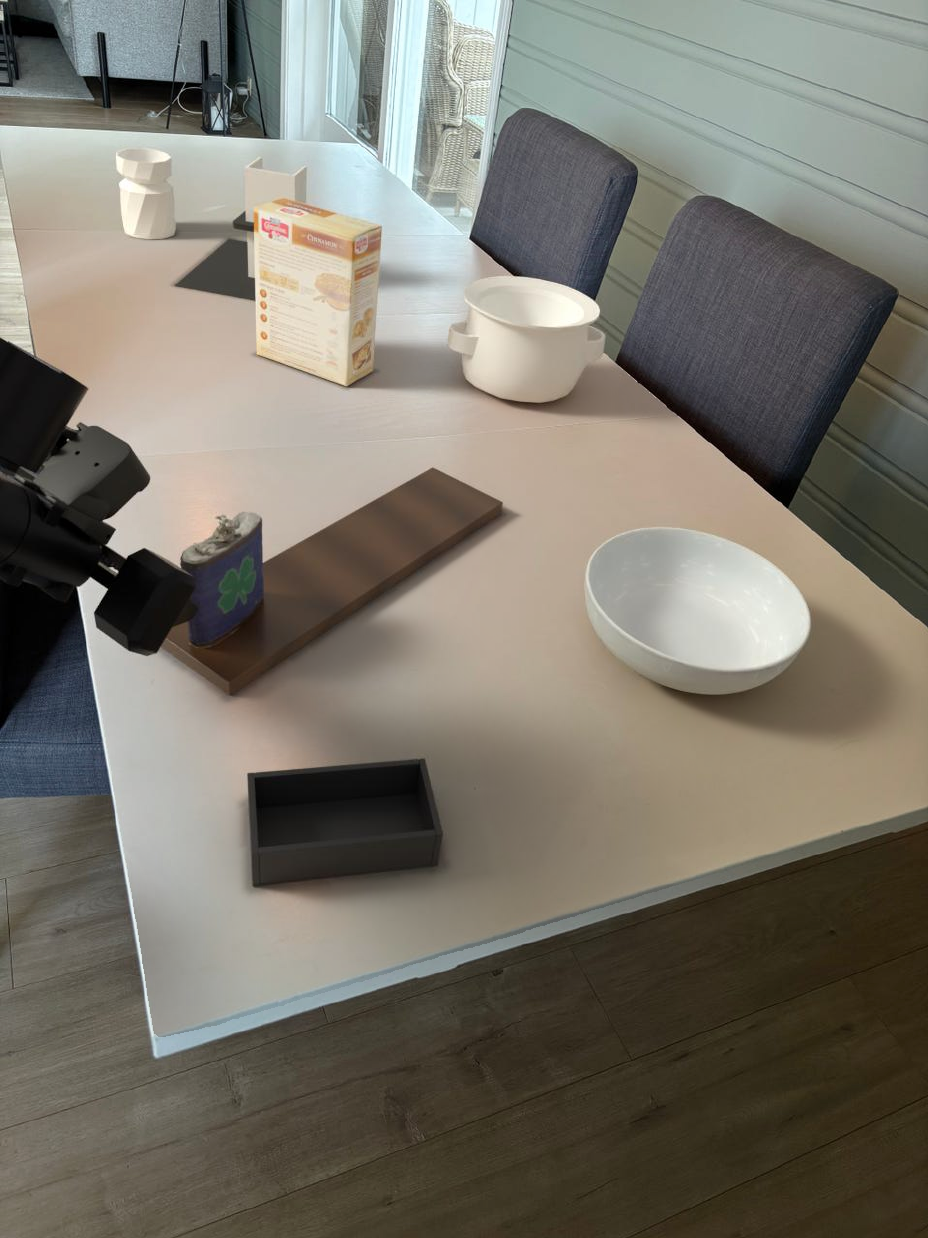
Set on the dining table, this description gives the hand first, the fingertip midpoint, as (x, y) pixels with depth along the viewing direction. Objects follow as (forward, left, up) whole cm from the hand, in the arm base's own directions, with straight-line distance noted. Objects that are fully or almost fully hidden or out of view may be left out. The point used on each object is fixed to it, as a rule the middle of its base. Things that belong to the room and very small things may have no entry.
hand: (154, 586), depth 71 cm
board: (+17, +14, -9) cm, 24 cm away
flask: (+5, +5, -8) cm, 11 cm away
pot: (+44, +56, -9) cm, 72 cm away
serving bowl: (+47, +1, -9) cm, 48 cm away
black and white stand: (+12, +94, -9) cm, 95 cm away
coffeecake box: (+16, +61, -9) cm, 64 cm away
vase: (-9, +111, -9) cm, 112 cm away
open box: (+13, -18, -9) cm, 24 cm away
